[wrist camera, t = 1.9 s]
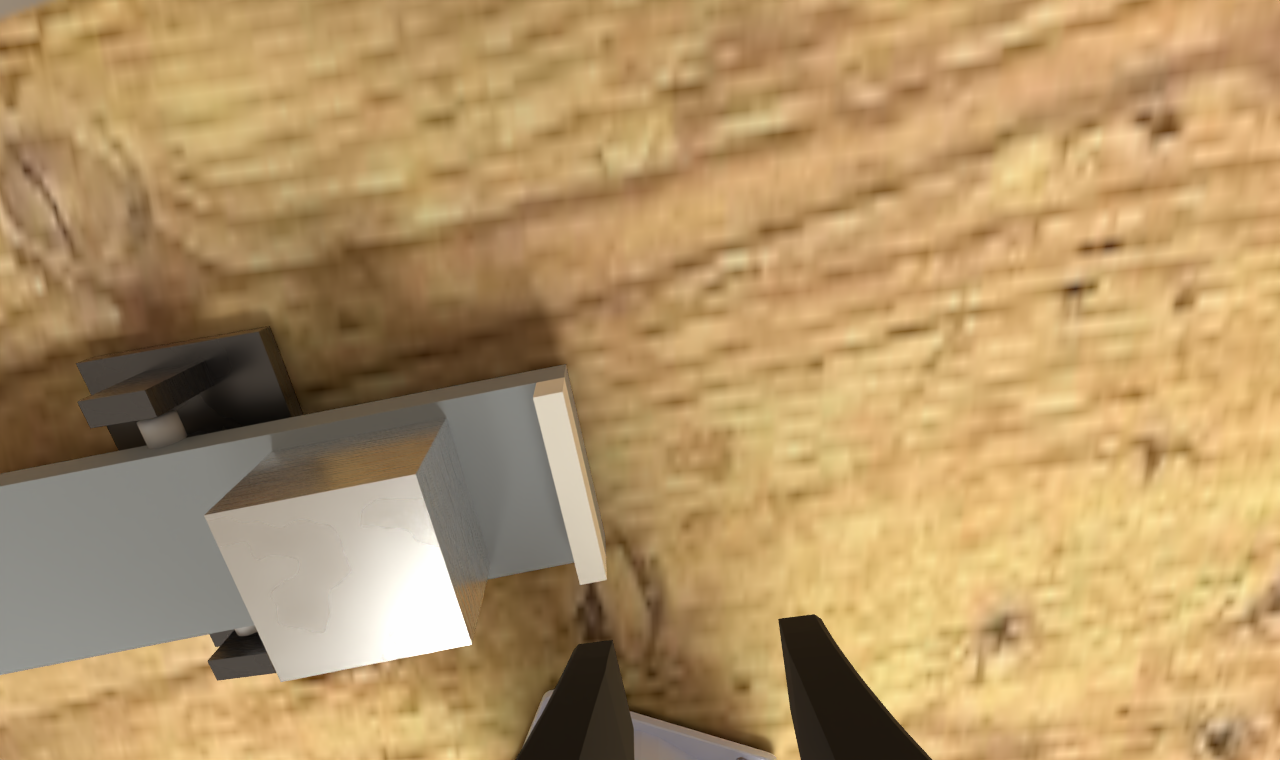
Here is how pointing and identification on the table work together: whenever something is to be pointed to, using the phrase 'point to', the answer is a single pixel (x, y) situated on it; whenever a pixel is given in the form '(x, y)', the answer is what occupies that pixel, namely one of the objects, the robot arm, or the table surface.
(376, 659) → the steel weight
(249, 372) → the pivot stand
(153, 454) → the seesaw beam
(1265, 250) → the table surface
